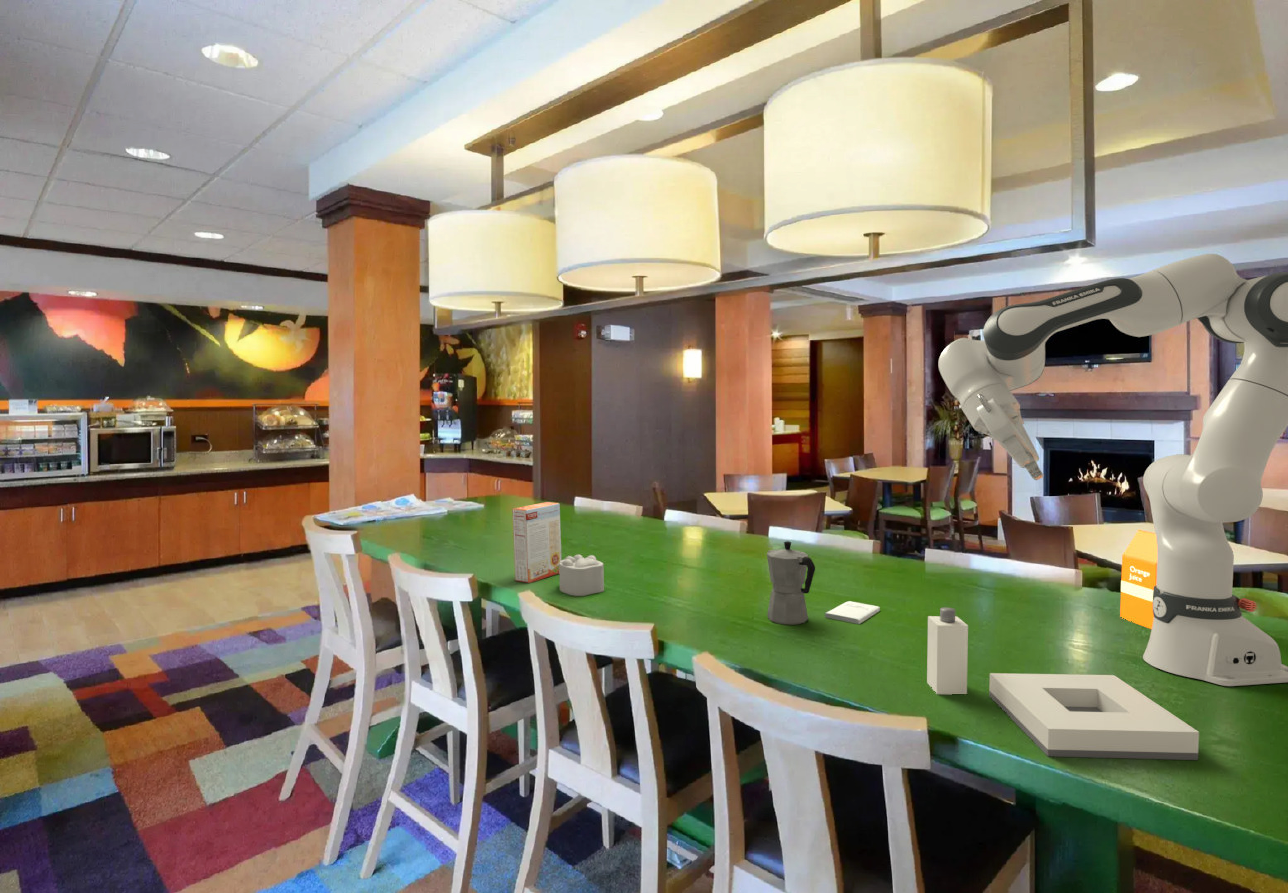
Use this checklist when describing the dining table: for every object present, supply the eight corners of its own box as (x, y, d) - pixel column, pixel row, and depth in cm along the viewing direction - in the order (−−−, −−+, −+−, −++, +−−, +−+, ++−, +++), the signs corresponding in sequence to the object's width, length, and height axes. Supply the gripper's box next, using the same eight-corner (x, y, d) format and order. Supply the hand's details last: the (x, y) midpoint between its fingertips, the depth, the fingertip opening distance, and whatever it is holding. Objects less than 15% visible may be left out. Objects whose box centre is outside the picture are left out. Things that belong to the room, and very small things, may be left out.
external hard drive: (824, 619, 163) (847, 606, 172) (859, 626, 157) (880, 612, 167) (824, 612, 162) (847, 600, 172) (859, 619, 157) (880, 606, 167)
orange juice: (1153, 630, 151) (1156, 537, 149) (1119, 617, 160) (1122, 530, 158) (1184, 627, 152) (1188, 536, 151) (1149, 615, 161) (1152, 528, 159)
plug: (956, 682, 125) (957, 605, 124) (966, 694, 120) (968, 614, 119) (927, 682, 125) (928, 605, 124) (936, 694, 120) (937, 613, 119)
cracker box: (547, 570, 210) (546, 501, 209) (562, 573, 207) (561, 502, 205) (513, 580, 199) (511, 507, 198) (528, 583, 195) (526, 509, 194)
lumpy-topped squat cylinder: (575, 597, 182) (574, 564, 181) (550, 587, 192) (550, 555, 191) (609, 590, 188) (608, 558, 187) (583, 580, 198) (582, 550, 198)
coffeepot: (753, 614, 165) (753, 538, 164) (784, 608, 170) (784, 534, 169) (797, 633, 152) (797, 551, 151) (830, 626, 156) (830, 546, 155)
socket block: (1113, 698, 117) (1114, 675, 117) (1197, 760, 98) (1199, 732, 97) (989, 696, 119) (989, 673, 119) (1047, 756, 99) (1048, 728, 99)
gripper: (992, 380, 124) (1035, 443, 116) (1022, 419, 138) (1062, 477, 131) (959, 400, 127) (998, 462, 119) (992, 436, 141) (1029, 493, 133)
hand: (1032, 470), depth 125 cm, fingers open, 8 cm apart
